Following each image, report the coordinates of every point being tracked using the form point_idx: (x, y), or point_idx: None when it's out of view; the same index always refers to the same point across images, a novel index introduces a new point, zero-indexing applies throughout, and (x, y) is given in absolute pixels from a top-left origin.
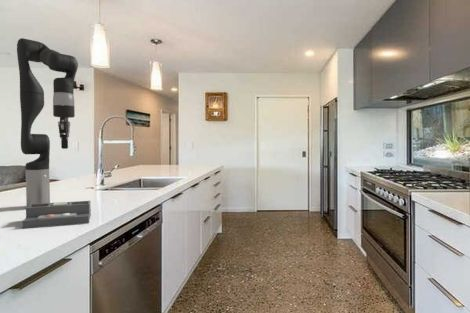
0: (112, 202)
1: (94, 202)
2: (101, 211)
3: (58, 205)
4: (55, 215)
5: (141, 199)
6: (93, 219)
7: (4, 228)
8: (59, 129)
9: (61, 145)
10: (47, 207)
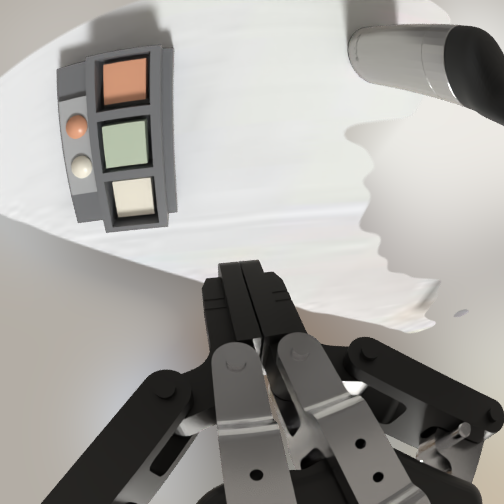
0: (339, 239)
1: (364, 197)
2: (224, 223)
3: (104, 145)
4: (78, 141)
5: (338, 295)
6: None
7: (88, 21)
8: (63, 480)
9: (222, 282)
10: (88, 117)
